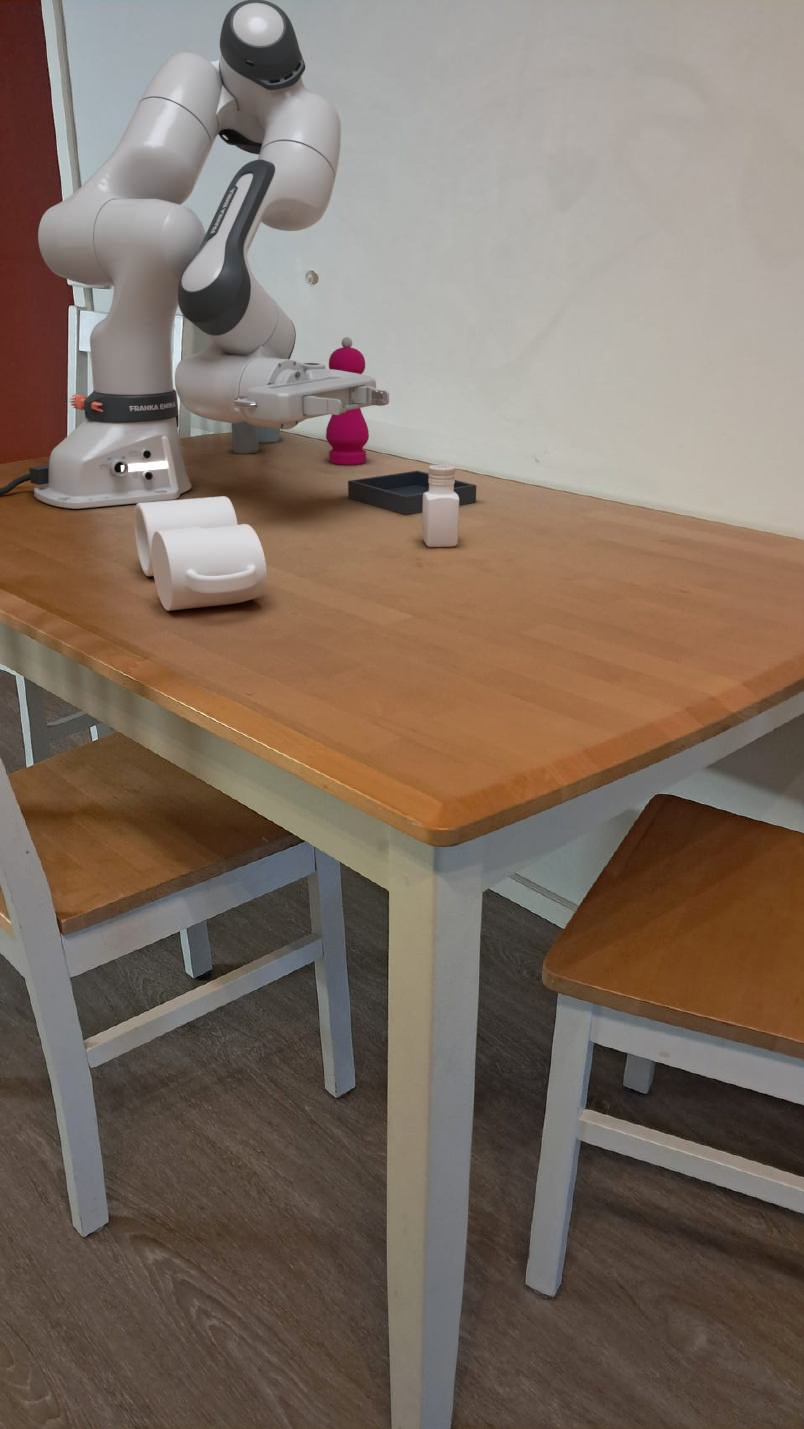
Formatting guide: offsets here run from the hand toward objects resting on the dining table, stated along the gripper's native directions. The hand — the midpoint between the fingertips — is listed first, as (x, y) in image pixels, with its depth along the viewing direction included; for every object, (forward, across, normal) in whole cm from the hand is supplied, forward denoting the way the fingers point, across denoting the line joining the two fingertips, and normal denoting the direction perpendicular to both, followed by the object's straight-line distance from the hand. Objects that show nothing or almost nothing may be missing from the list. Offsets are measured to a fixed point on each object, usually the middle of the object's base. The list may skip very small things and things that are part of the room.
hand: (365, 402), depth 133 cm
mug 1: (-7, -27, +16) cm, 32 cm away
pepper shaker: (+12, -1, +16) cm, 20 cm away
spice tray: (-4, +18, +16) cm, 24 cm away
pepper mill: (-28, +36, +16) cm, 49 cm away
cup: (-53, +44, +16) cm, 71 cm away
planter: (-48, +33, +16) cm, 61 cm away
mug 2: (+6, -36, +16) cm, 40 cm away
